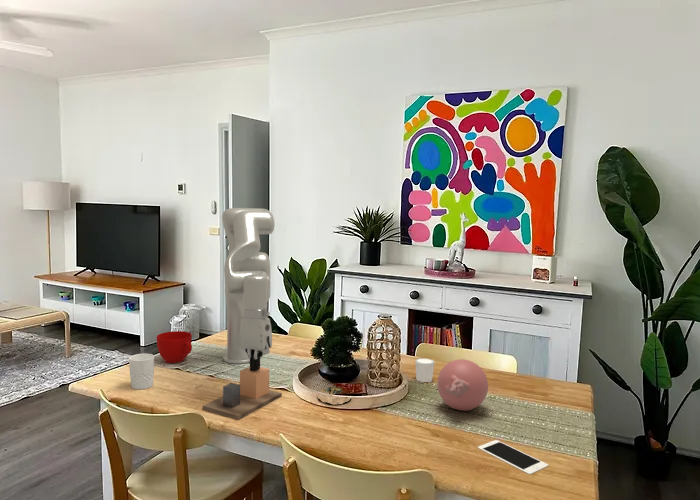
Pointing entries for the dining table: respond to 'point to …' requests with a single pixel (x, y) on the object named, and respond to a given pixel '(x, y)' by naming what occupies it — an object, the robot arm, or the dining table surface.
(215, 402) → the walnut board
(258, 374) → the peach cube
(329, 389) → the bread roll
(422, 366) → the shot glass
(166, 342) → the ceramic cup
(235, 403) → the dark post
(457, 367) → the pink stress ball
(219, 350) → the dining table surface
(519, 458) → the cell phone
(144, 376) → the white cup
